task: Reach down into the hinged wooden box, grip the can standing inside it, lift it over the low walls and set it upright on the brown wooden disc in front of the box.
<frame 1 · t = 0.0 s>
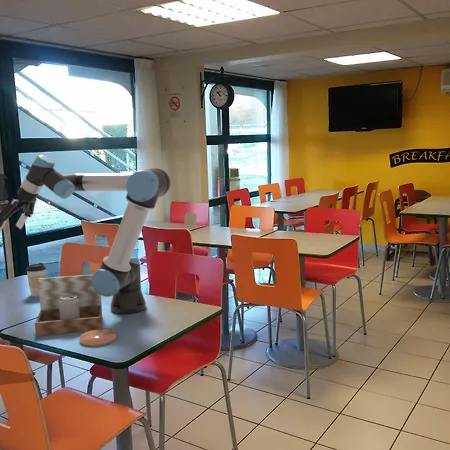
hand: (7, 229, 214), 36 cm above the table, tool tilted 35°, fingers open, 13 cm apart
coffee cup: (38, 294, 245), on the table
can: (70, 326, 199), resting in hinged wooden box
brown wooden disc: (98, 339, 184), on the table
hinged wooden box: (70, 325, 199), on the table
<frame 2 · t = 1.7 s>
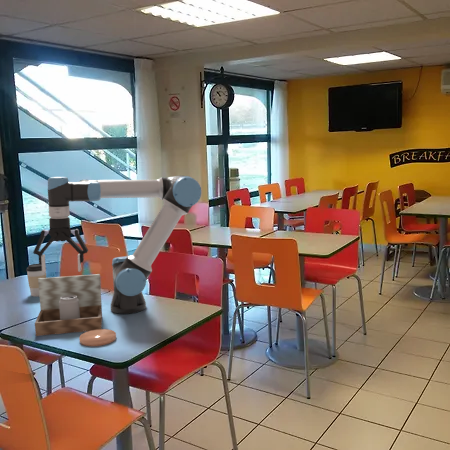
hand: (61, 271, 196), 22 cm above the table, tool pointing down, fingers open, 13 cm apart
nothing on the table moved.
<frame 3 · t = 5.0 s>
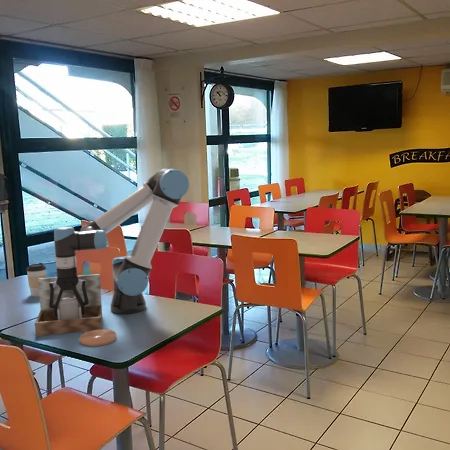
hand: (70, 323, 199), 1 cm above the table, tool pointing down, fingers closed on can, 7 cm apart
can: (70, 326, 199), resting in hinged wooden box, touching gripper
everything else where it was.
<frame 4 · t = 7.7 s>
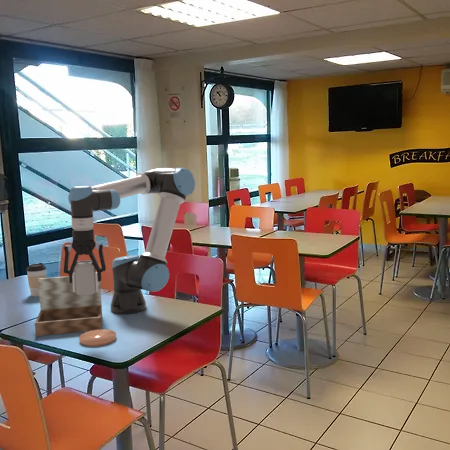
hand: (86, 290, 185), 18 cm above the table, tool pointing down, fingers closed on can, 7 cm apart
can: (86, 294, 185), point 16 cm above the table, touching gripper
everything else where it was.
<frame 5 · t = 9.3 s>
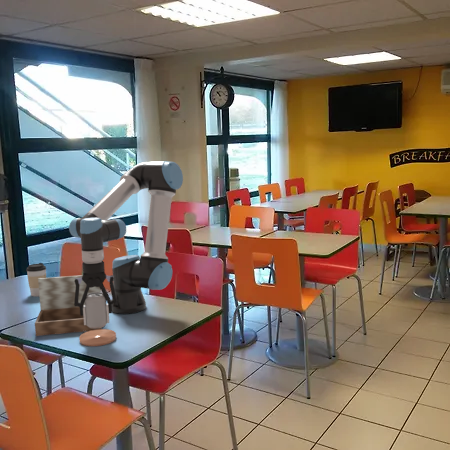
hand: (96, 322, 183), 6 cm above the table, tool pointing down, fingers closed on can, 7 cm apart
can: (97, 326, 183), point 5 cm above the table, touching gripper
everything else where it was.
when the fingers open (4 cm above the table, at t = 10.5 s): can drops 1 cm, resting on brown wooden disc.
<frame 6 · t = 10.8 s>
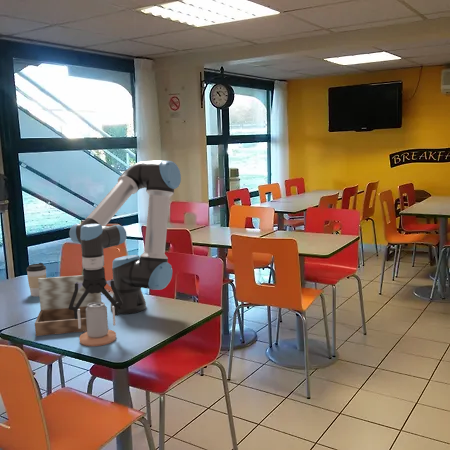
hand: (97, 325, 183), 5 cm above the table, tool pointing down, fingers open, 11 cm apart
can: (97, 335, 184), point 1 cm above the table, touching brown wooden disc
everything else where it was.
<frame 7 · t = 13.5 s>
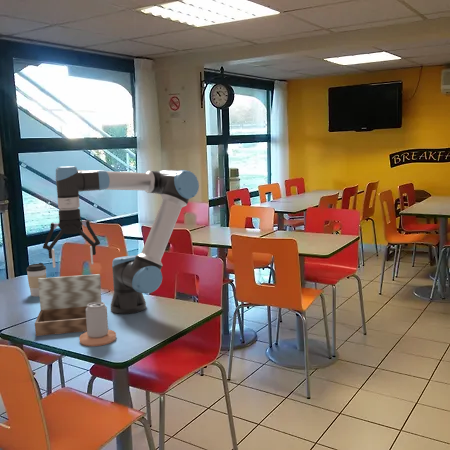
hand: (73, 265, 188), 26 cm above the table, tool pointing down, fingers open, 13 cm apart
nothing on the table moved.
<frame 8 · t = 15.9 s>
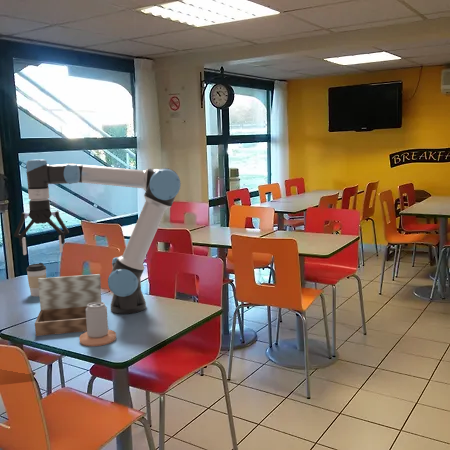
hand: (43, 253, 199), 29 cm above the table, tool pointing down, fingers open, 13 cm apart
nothing on the table moved.
at the end: can 0.0 cm from the brown wooden disc (horizontally); can tilted 0°; the gripper is holding nothing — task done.
